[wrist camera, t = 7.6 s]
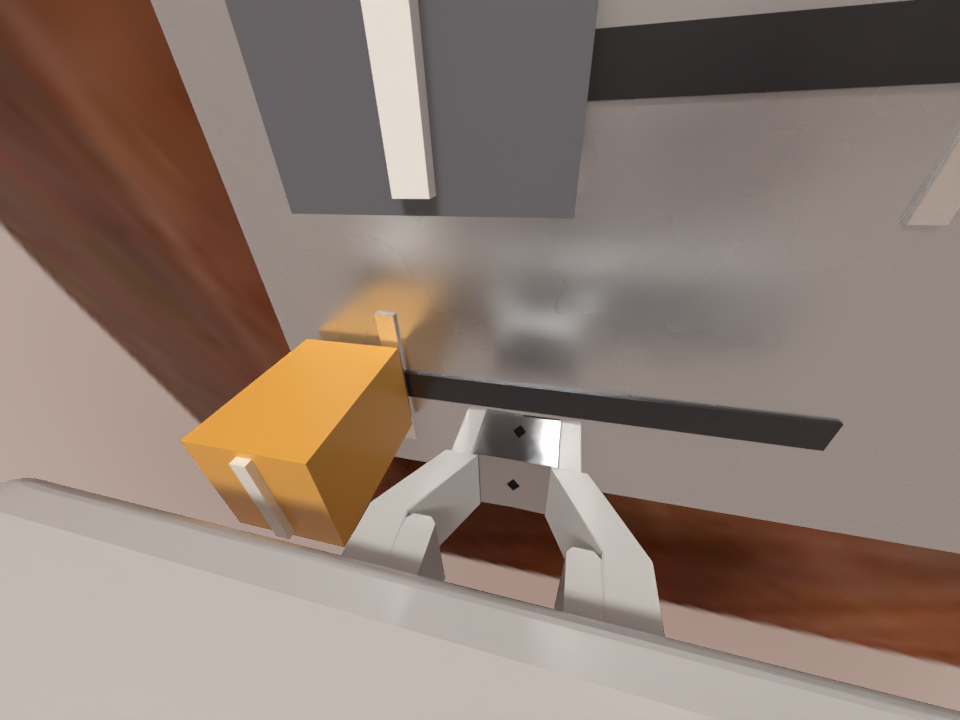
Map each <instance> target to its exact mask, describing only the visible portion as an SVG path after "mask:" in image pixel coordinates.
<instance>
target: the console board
mask: <svg viewBox="0 0 960 720" xmlns="http://www.w3.org/2000/svg"><path fill="white" fill-rule="evenodd" d="M151 3H152V5H153V8H154V10H155V13H156V15H157V18H158V20H159V23H160V25H161V28H162V30H163V33H164V35H165V38H166V40H167V43H168V45H169V48H170V50H171V53H172V55H173V58H174V60H175V63H176V65H177V68H178V70H179V73H180V75H181V78H182V80H183V83H184V85H185V88H186V90H187V93H188V95H189V98H190V100H191V103H192V105H193V108H194V110H195V113H196V115H197V118H198V120H199V123H200V125H201V128H202V130H203V133H204V135H205V138H206V140H207V143H208V145H209V148H210V150H211V153H212V155H213V158H214V160H215V163H216V165H217V168H218V170H219V173H220V175H221V178H222V180H223V183H224V185H225V188H226V190H227V193H228V195H229V198H230V200H231V203H232V205H233V208H234V210H235V213H236V215H237V218H238V220H239V223H240V225H241V228H242V230H243V233H244V235H245V238H246V240H247V243H248V245H249V248H250V251H251V253H252V256H253V258H254V261H255V263H256V266H257V268H258V271H259V273H260V276H261V278H262V281H263V283H264V286H265V288H266V291H267V293H268V296H269V298H270V301H271V303H272V306H273V308H274V311H275V313H276V316H277V318H278V321H279V323H280V326H281V328H282V331H283V333H284V336H285V338H286V341H287V343H288V346H289V348H290V351H292V350H294V349H295V348H296V347H297V346H299V345H300V344H301V343H302V342H304V341H305V340H306V339H314V340H324V341H333V342H343V343H353V344H363V345H373V346H383V347H392V348H398V352H399V357H400V362H401V367H402V372H403V378H404V383H405V388H406V393H407V398H408V403H409V409H410V414H411V419H412V425H411V427H410V429H409V431H408V433H407V434H406V436H405V438H404V440H403V442H402V444H401V445H400V447H399V449H398V451H397V453H396V455H395V456H394V457H400V458H406V459H411V460H417V461H423V462H429V461H430V460H432V459H433V458H434V457H436V456H437V455H439V454H440V453H442V452H443V451H445V450H451V449H452V447H453V444H454V442H455V439H456V437H457V434H458V432H459V429H460V427H461V424H462V422H463V419H464V417H465V414H466V411H467V410H468V408H469V407H470V406H471V407H477V408H482V409H491V410H497V411H503V412H510V413H516V414H522V415H530V416H538V417H546V418H553V419H560V420H561V419H562V420H570V421H578V422H581V424H582V473H588V474H589V475H590V477H591V478H592V480H593V481H594V482H595V484H596V485H597V486H598V488H599V489H600V491H601V492H604V493H610V494H615V495H621V496H627V497H633V498H639V499H645V500H650V501H656V502H662V503H668V504H674V505H680V506H685V507H691V508H697V509H703V510H709V511H715V512H720V513H726V514H732V515H738V516H744V517H750V518H755V519H761V520H767V521H773V522H779V523H785V524H790V525H796V526H802V527H808V528H814V529H820V530H825V531H831V532H837V533H843V534H849V535H855V536H860V537H866V538H872V539H878V540H884V541H890V542H895V543H901V544H907V545H913V546H919V547H924V548H930V549H936V550H942V551H948V552H954V553H959V554H960V0H599V1H598V10H597V19H596V28H595V36H594V45H593V54H592V63H591V72H590V81H589V89H588V98H587V107H586V116H585V125H584V134H583V142H582V151H581V160H580V169H579V178H578V187H577V195H576V204H575V213H574V219H570V218H513V217H455V216H397V215H339V214H292V213H291V210H290V206H289V203H288V200H287V197H286V194H285V191H284V187H283V184H282V181H281V178H280V175H279V171H278V168H277V165H276V162H275V159H274V156H273V152H272V149H271V146H270V143H269V140H268V136H267V133H266V130H265V127H264V124H263V121H262V117H261V114H260V111H259V108H258V105H257V102H256V98H255V95H254V92H253V89H252V86H251V82H250V79H249V76H248V73H247V70H246V67H245V63H244V60H243V57H242V54H241V51H240V47H239V44H238V41H237V38H236V35H235V32H234V28H233V25H232V22H231V19H230V16H229V13H228V9H227V6H226V3H225V0H151Z"/></svg>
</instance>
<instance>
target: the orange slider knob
mask: <svg viewBox="0 0 960 720" xmlns="http://www.w3.org/2000/svg"><path fill="white" fill-rule="evenodd" d="M411 425H412V419H411V414H410V409H409V403H408V398H407V393H406V388H405V383H404V378H403V372H402V367H401V362H400V357H399V352H398V348H392V347H383V346H373V345H363V344H353V343H343V342H333V341H324V340H314V339H306V340H305V341H304V342H302V343H301V344H300V345H299V346H297V347H296V348H295V349H294V350H292V351H291V352H290V353H289V354H287V355H286V356H285V357H284V358H282V359H281V360H280V361H279V362H277V363H276V364H275V365H274V366H272V367H271V368H270V369H269V370H267V371H266V372H265V373H264V374H262V375H261V376H260V377H259V378H257V379H256V380H255V381H254V382H252V383H251V384H250V385H249V386H247V387H246V388H245V389H244V390H242V391H241V392H240V393H239V394H237V395H236V396H235V397H234V398H232V399H231V400H230V401H229V402H228V403H226V404H225V405H224V406H223V407H221V408H220V409H219V410H218V411H216V412H215V413H214V414H213V415H211V416H210V417H209V418H208V419H206V420H205V421H204V422H203V423H201V424H200V425H199V426H198V427H197V428H195V429H194V430H193V431H191V432H190V433H189V434H188V435H186V436H185V437H184V438H183V439H181V440H180V441H181V443H182V444H183V445H184V447H185V448H186V449H187V450H188V452H189V453H190V455H191V456H192V458H193V459H194V460H195V462H196V463H197V464H198V466H199V467H200V468H201V470H202V471H203V472H204V474H205V475H206V476H207V478H208V479H209V481H210V482H211V483H212V485H213V486H214V487H215V489H216V490H217V491H218V493H219V494H220V496H221V497H222V498H223V500H224V501H225V502H226V504H227V505H228V506H229V508H230V509H231V510H232V512H233V513H234V514H235V516H236V517H237V519H238V520H239V521H240V522H241V523H245V524H250V525H254V526H258V527H262V528H266V529H271V530H273V532H274V533H275V534H276V536H279V537H283V538H287V539H290V538H291V536H292V535H296V536H300V537H304V538H309V539H313V540H317V541H321V542H325V543H330V544H334V545H338V546H342V547H345V546H346V544H347V542H348V540H349V538H350V537H351V535H352V533H353V531H354V529H355V528H356V526H357V524H358V522H359V520H360V518H361V517H362V515H363V513H364V511H365V509H366V507H367V506H368V504H369V502H370V500H371V498H372V497H373V495H374V493H375V491H376V489H377V487H378V486H379V484H380V482H381V480H382V478H383V476H384V475H385V473H386V471H387V469H388V467H389V466H390V464H391V462H392V460H393V458H394V456H395V455H396V453H397V451H398V449H399V447H400V445H401V444H402V442H403V440H404V438H405V436H406V434H407V433H408V431H409V429H410V427H411Z"/></svg>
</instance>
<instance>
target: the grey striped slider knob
mask: <svg viewBox="0 0 960 720" xmlns="http://www.w3.org/2000/svg"><path fill="white" fill-rule="evenodd" d="M598 1H599V0H225V3H226V6H227V9H228V13H229V16H230V19H231V22H232V25H233V28H234V32H235V35H236V38H237V41H238V44H239V47H240V51H241V54H242V57H243V60H244V63H245V67H246V70H247V73H248V76H249V79H250V82H251V86H252V89H253V92H254V95H255V98H256V102H257V105H258V108H259V111H260V114H261V117H262V121H263V124H264V127H265V130H266V133H267V136H268V140H269V143H270V146H271V149H272V152H273V156H274V159H275V162H276V165H277V168H278V171H279V175H280V178H281V181H282V184H283V187H284V191H285V194H286V197H287V200H288V203H289V206H290V210H291V213H292V214H339V215H397V216H455V217H513V218H570V219H574V213H575V204H576V195H577V187H578V178H579V169H580V160H581V151H582V142H583V134H584V125H585V116H586V107H587V98H588V89H589V81H590V72H591V63H592V54H593V45H594V36H595V28H596V19H597V10H598Z"/></svg>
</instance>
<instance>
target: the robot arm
mask: <svg viewBox="0 0 960 720" xmlns="http://www.w3.org/2000/svg"><path fill="white" fill-rule="evenodd" d="M480 502H486V503H492V504H498V505H504V506H510V507H515V508H519V509H524V510H528V511H532V512H537V513H541V514H545V517H546V519H547V522H548V524H549V526H550V528H551V530H552V533H553V535H554V537H555V539H556V541H557V544H558V546H559V548H560V550H561V552H562V555H563V557H564V559H565V560H564V565H563V569H562V574H561V579H560V583H559V588H558V593H557V597H556V602H555V609H551V608H547V607H543V606H539V605H535V604H531V603H527V602H523V601H519V600H515V599H511V598H507V597H503V596H499V595H495V594H491V593H488V592H484V591H479V590H476V589H472V588H468V587H464V586H460V585H456V584H452V583H448V582H444V579H445V575H444V570H443V565H442V558H441V553H440V547H439V546H440V545H441V544H442V543H443V542H444V541H445V540H446V539H447V538H448V537H449V536H450V535H451V534H452V533H453V531H454V530H455V529H456V528H457V527H458V526H459V525H460V524H461V523H462V522H463V521H464V520H465V519H466V518H467V517H468V516H469V515H470V514H471V513H472V512H473V511H474V510H475V509H476V508H477V507H478V506H479V504H480ZM0 720H960V712H959V711H955V710H951V709H947V708H943V707H939V706H935V705H931V704H928V703H923V702H920V701H915V700H911V699H908V698H904V697H900V696H896V695H892V694H887V693H884V692H880V691H876V690H872V689H868V688H864V687H860V686H855V685H852V684H848V683H844V682H840V681H836V680H832V679H828V678H824V677H820V676H816V675H812V674H808V673H804V672H800V671H796V670H792V669H788V668H784V667H780V666H777V665H773V664H769V663H764V662H760V661H756V660H753V659H749V658H745V657H741V656H737V655H732V654H729V653H725V652H721V651H717V650H713V649H708V648H705V647H701V646H697V645H693V644H689V643H685V642H681V641H677V640H674V639H670V638H666V637H665V635H664V629H663V622H662V616H661V610H660V604H659V598H658V592H657V586H656V579H655V573H654V567H653V562H652V561H651V559H650V558H649V557H648V555H647V554H646V552H645V551H644V550H643V548H642V547H641V546H640V544H639V543H638V541H637V540H636V539H635V537H634V536H633V535H632V533H631V532H630V530H629V529H628V528H627V526H626V525H625V524H624V522H623V521H622V519H621V518H620V517H619V515H618V514H617V513H616V511H615V510H614V508H613V507H612V506H611V504H610V503H609V502H608V500H607V499H606V497H605V496H604V495H603V493H602V492H601V491H600V489H599V488H598V486H597V485H596V484H595V482H594V481H593V480H592V478H591V477H590V475H589V474H588V473H582V424H581V422H578V421H570V420H562V419H561V420H560V419H553V418H546V417H538V416H530V415H522V414H516V413H510V412H503V411H497V410H491V409H482V408H477V407H471V406H470V407H469V408H468V410H467V411H466V414H465V417H464V419H463V422H462V424H461V427H460V429H459V432H458V434H457V437H456V439H455V442H454V444H453V447H452V449H451V450H445V451H443V452H442V453H440V454H439V455H437V456H436V457H434V458H433V459H432V460H430V461H429V462H427V463H426V464H424V465H423V466H422V467H420V468H419V469H417V470H416V471H414V472H413V473H412V474H410V475H409V476H407V477H406V478H404V479H403V480H402V481H400V482H399V483H397V484H396V485H394V486H393V487H392V488H390V489H389V490H387V491H386V492H384V493H383V494H382V495H380V496H379V497H377V498H376V499H374V500H373V501H371V503H370V504H369V506H368V508H367V510H366V512H365V513H364V515H363V517H362V519H361V521H360V522H359V524H358V526H357V528H356V530H355V531H354V533H353V535H352V537H351V539H350V540H349V542H348V544H347V546H346V548H345V550H344V551H343V553H342V555H337V554H332V553H329V552H325V551H321V550H317V549H313V548H309V547H305V546H301V545H296V544H293V543H289V542H285V541H280V540H277V539H273V538H269V537H265V536H261V535H257V534H253V533H249V532H245V531H241V530H237V529H233V528H229V527H225V526H222V525H217V524H214V523H209V522H205V521H201V520H198V519H194V518H190V517H185V516H182V515H178V514H174V513H170V512H166V511H162V510H158V509H154V508H150V507H146V506H142V505H138V504H134V503H130V502H126V501H122V500H118V499H114V498H110V497H106V496H102V495H98V494H95V493H91V492H87V491H83V490H79V489H75V488H71V487H66V486H63V485H59V484H55V483H52V482H48V481H44V480H39V479H33V478H21V479H14V480H11V481H8V482H4V483H1V484H0Z"/></svg>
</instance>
